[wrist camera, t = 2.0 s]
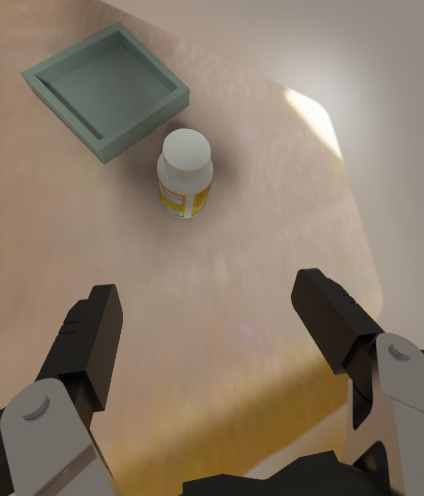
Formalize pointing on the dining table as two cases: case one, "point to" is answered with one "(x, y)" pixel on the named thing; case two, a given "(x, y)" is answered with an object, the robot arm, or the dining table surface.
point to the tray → (108, 90)
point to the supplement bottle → (184, 172)
